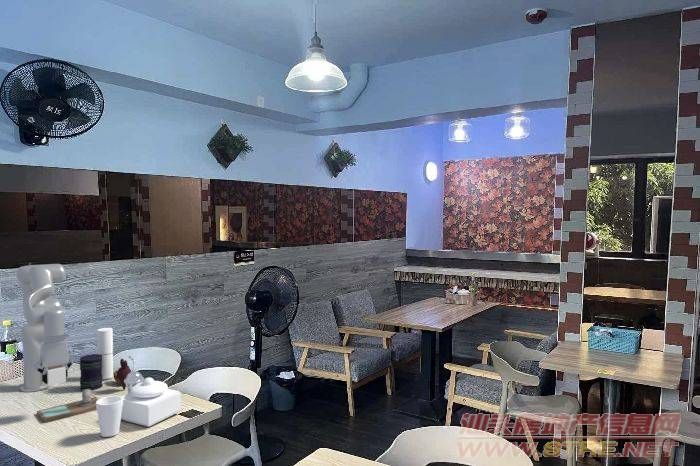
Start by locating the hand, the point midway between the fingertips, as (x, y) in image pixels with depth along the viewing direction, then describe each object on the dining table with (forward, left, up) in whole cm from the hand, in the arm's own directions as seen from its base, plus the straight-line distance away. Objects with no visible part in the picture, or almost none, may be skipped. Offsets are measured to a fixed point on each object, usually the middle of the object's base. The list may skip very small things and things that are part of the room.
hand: (55, 380), depth 204 cm
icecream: (-10, +32, -15) cm, 36 cm away
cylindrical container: (-36, +32, -15) cm, 50 cm away
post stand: (0, +6, -15) cm, 16 cm away
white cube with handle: (0, 0, -1) cm, 1 cm away
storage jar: (-25, +22, -15) cm, 36 cm away
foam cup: (+33, +11, -15) cm, 38 cm away
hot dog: (-22, +35, -15) cm, 44 cm away
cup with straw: (+7, +30, -15) cm, 34 cm away
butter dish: (+26, +29, -15) cm, 42 cm away
